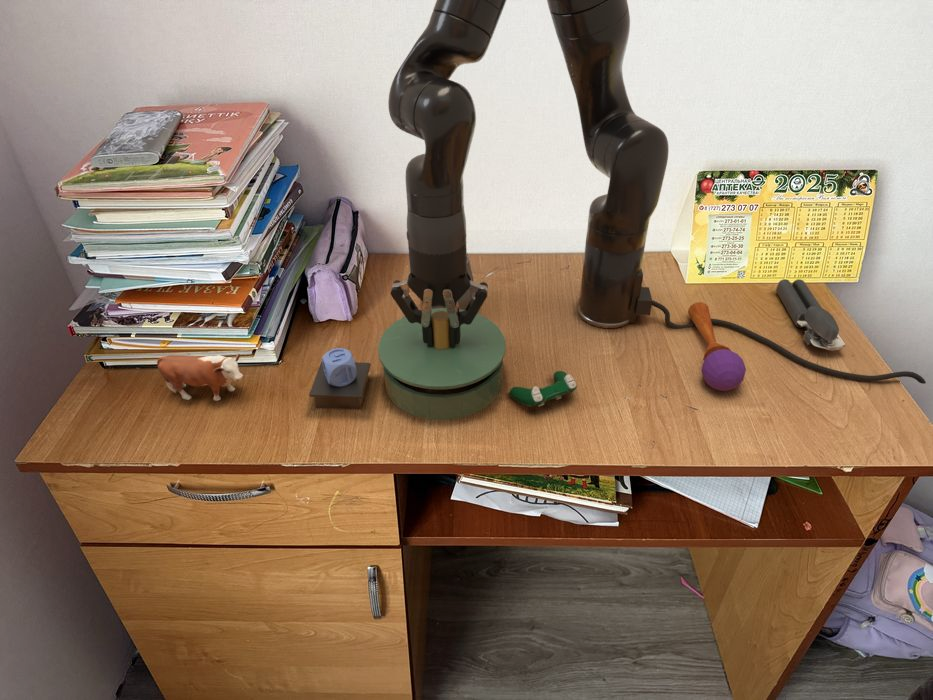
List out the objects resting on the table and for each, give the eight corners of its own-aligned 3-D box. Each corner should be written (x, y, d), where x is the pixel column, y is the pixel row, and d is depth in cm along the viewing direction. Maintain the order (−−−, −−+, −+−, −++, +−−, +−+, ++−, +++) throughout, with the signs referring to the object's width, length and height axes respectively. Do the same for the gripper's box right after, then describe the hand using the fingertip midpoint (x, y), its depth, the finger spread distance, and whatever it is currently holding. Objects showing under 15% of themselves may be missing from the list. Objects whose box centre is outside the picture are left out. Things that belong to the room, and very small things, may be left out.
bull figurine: (247, 412, 97) (234, 369, 92) (163, 400, 99) (145, 357, 94) (260, 392, 100) (249, 349, 95) (178, 381, 102) (163, 339, 97)
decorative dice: (331, 390, 95) (327, 368, 92) (324, 373, 98) (319, 352, 95) (358, 382, 96) (355, 360, 94) (350, 366, 99) (347, 344, 97)
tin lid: (506, 315, 104) (507, 281, 101) (504, 395, 90) (505, 359, 86) (389, 312, 105) (385, 279, 102) (368, 390, 91) (363, 355, 87)
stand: (375, 379, 102) (372, 361, 100) (365, 416, 96) (362, 397, 94) (323, 377, 102) (319, 359, 100) (310, 414, 96) (306, 396, 94)
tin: (503, 347, 108) (504, 322, 105) (501, 424, 94) (501, 399, 91) (394, 344, 109) (392, 320, 106) (376, 420, 95) (373, 395, 92)
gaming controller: (514, 414, 98) (531, 411, 92) (505, 389, 98) (522, 385, 93) (567, 394, 101) (586, 389, 96) (558, 370, 102) (577, 364, 96)
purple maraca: (722, 298, 110) (757, 369, 94) (708, 328, 114) (740, 402, 97) (687, 292, 110) (716, 361, 94) (674, 322, 114) (700, 394, 97)
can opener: (844, 359, 104) (858, 326, 100) (811, 359, 104) (824, 326, 100) (800, 291, 119) (811, 260, 115) (771, 291, 119) (781, 260, 115)
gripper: (492, 224, 89) (491, 329, 100) (387, 222, 90) (397, 327, 100) (490, 253, 83) (489, 361, 94) (378, 251, 84) (390, 358, 94)
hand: (441, 343), depth 97 cm, fingers closed on tin lid, 2 cm apart
